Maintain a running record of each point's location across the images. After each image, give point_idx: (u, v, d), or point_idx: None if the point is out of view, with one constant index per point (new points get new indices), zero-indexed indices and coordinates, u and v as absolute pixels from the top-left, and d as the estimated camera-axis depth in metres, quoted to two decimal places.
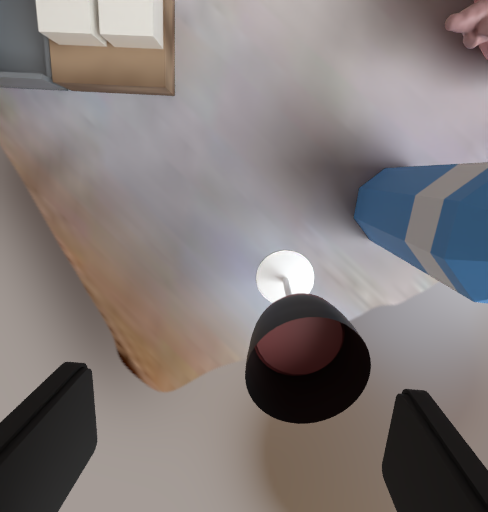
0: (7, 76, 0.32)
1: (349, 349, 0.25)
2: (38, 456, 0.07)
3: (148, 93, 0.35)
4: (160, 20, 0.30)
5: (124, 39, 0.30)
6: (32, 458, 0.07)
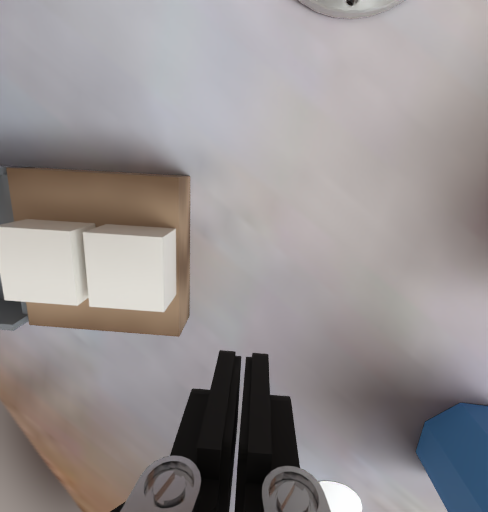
0: None
1: None
2: (234, 429, 0.08)
3: None
4: (172, 271, 0.22)
5: None
6: None
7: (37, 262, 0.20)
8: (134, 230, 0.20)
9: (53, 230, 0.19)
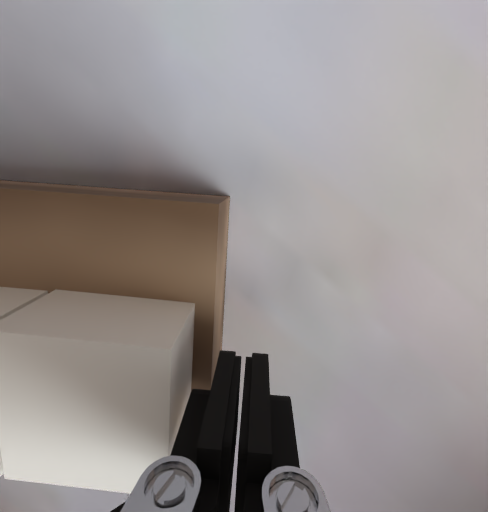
0: None
1: None
2: (234, 430, 0.08)
3: None
4: (186, 390, 0.11)
5: None
6: None
7: None
8: (108, 315, 0.10)
9: None
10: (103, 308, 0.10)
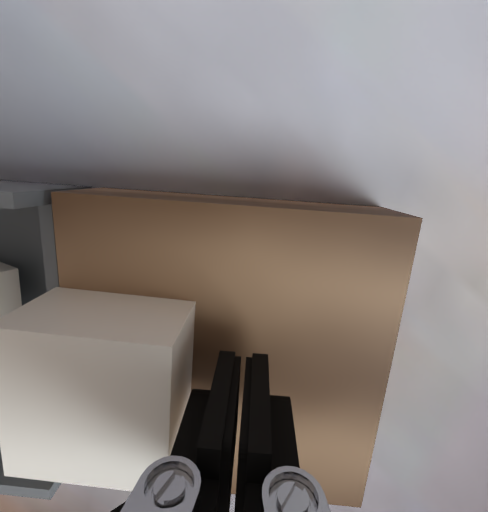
0: None
1: None
2: (234, 430, 0.08)
3: None
4: (185, 388, 0.11)
5: None
6: None
7: None
8: (109, 313, 0.10)
9: None
10: (104, 306, 0.10)
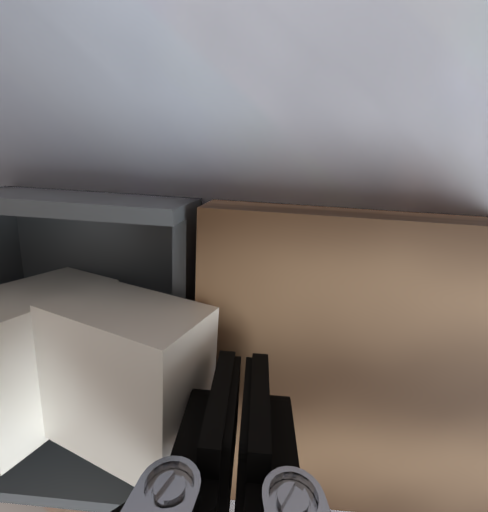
0: (82, 508, 0.12)
1: None
2: (234, 430, 0.08)
3: None
4: None
5: None
6: None
7: None
8: (131, 307, 0.10)
9: None
10: (131, 300, 0.10)
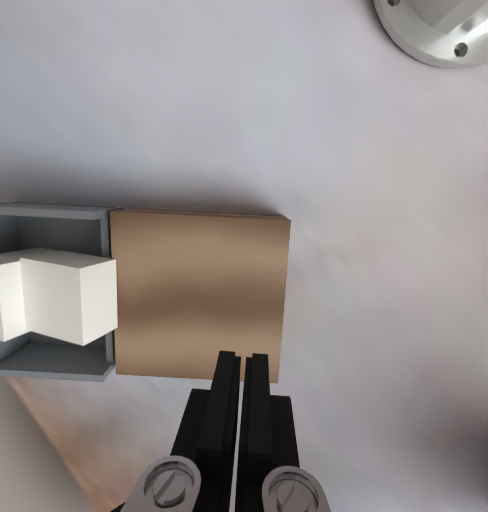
0: (52, 377, 0.22)
1: None
2: (234, 430, 0.08)
3: None
4: (107, 303, 0.21)
5: None
6: None
7: None
8: (70, 258, 0.21)
9: None
10: (71, 256, 0.21)
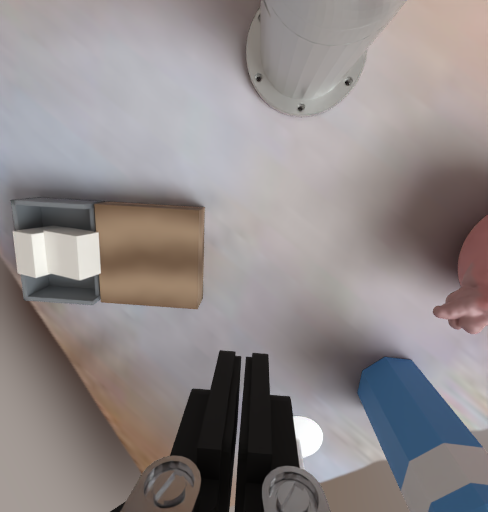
0: (63, 302, 0.38)
1: None
2: (234, 430, 0.08)
3: None
4: (93, 258, 0.36)
5: None
6: None
7: None
8: (72, 231, 0.35)
9: (23, 229, 0.36)
10: (72, 230, 0.36)
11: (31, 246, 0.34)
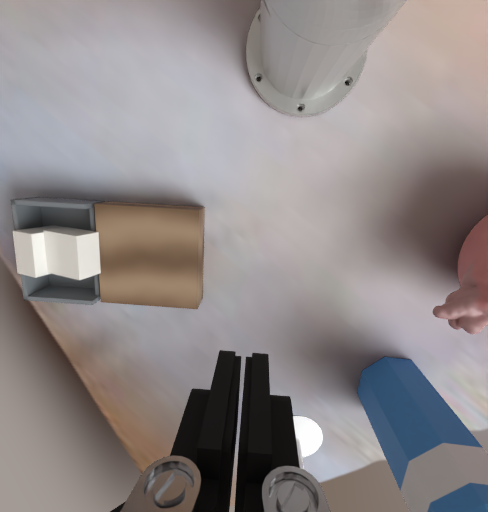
0: (63, 302, 0.38)
1: None
2: (234, 430, 0.08)
3: None
4: (93, 257, 0.36)
5: None
6: None
7: None
8: (72, 231, 0.35)
9: (23, 229, 0.36)
10: (72, 230, 0.36)
11: (31, 246, 0.34)
